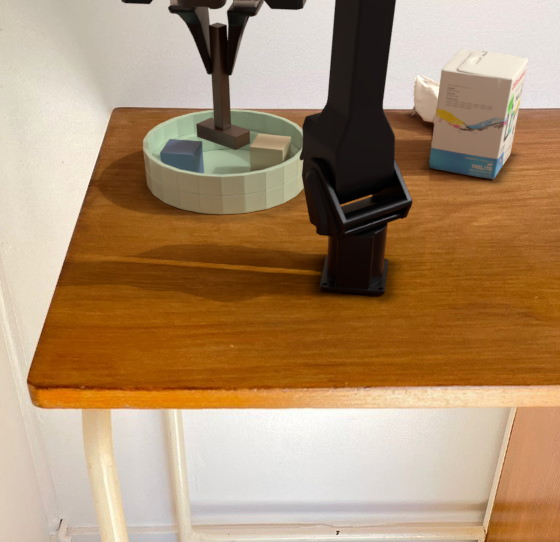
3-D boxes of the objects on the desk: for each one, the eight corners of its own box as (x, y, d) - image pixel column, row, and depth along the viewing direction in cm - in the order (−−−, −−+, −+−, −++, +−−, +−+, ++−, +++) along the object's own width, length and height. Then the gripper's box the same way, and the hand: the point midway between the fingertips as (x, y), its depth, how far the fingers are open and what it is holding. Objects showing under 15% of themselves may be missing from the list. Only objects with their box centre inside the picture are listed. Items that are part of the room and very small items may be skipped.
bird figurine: (397, 129, 117) (445, 135, 109) (403, 73, 114) (452, 76, 106) (425, 129, 119) (474, 135, 112) (431, 75, 116) (481, 77, 108)
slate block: (196, 188, 100) (193, 155, 97) (163, 186, 100) (159, 152, 97) (204, 174, 102) (202, 141, 100) (172, 171, 103) (169, 138, 100)
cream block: (282, 183, 101) (282, 150, 98) (250, 180, 101) (249, 146, 99) (290, 169, 103) (290, 136, 101) (259, 166, 104) (258, 133, 101)
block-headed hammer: (250, 143, 97) (247, 27, 88) (235, 150, 95) (231, 33, 87) (211, 130, 99) (204, 16, 91) (196, 137, 98) (188, 22, 90)
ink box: (494, 181, 102) (512, 79, 94) (426, 168, 105) (439, 68, 97) (511, 154, 108) (530, 55, 100) (447, 143, 110) (460, 46, 102)
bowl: (296, 224, 95) (296, 181, 91) (129, 213, 97) (123, 170, 93) (315, 153, 108) (317, 113, 105) (169, 145, 110) (165, 105, 107)
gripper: (91, -84, 77) (116, 96, 88) (295, -78, 75) (294, 105, 86) (126, -108, 85) (144, 60, 96) (311, -103, 83) (308, 68, 93)
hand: (220, 73), depth 92 cm, fingers closed on block-headed hammer, 2 cm apart
